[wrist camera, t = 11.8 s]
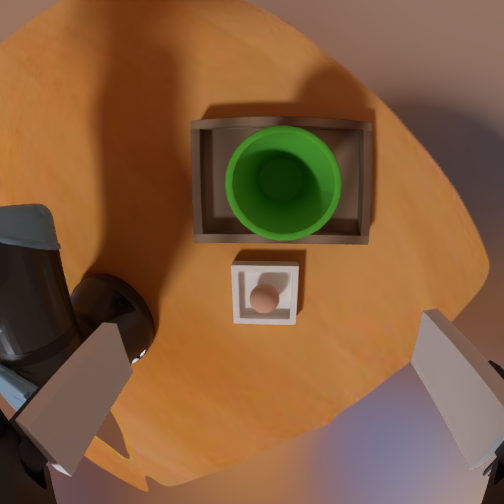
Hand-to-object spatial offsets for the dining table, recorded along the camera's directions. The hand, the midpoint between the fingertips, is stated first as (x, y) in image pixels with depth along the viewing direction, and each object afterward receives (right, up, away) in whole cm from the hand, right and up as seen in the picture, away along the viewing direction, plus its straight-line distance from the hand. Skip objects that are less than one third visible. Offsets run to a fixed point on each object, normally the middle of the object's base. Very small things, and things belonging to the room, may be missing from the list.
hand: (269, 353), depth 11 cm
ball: (+1, -1, +25) cm, 25 cm away
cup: (+3, +12, +21) cm, 24 cm away
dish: (+1, -1, +25) cm, 25 cm away
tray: (+3, +12, +21) cm, 25 cm away
